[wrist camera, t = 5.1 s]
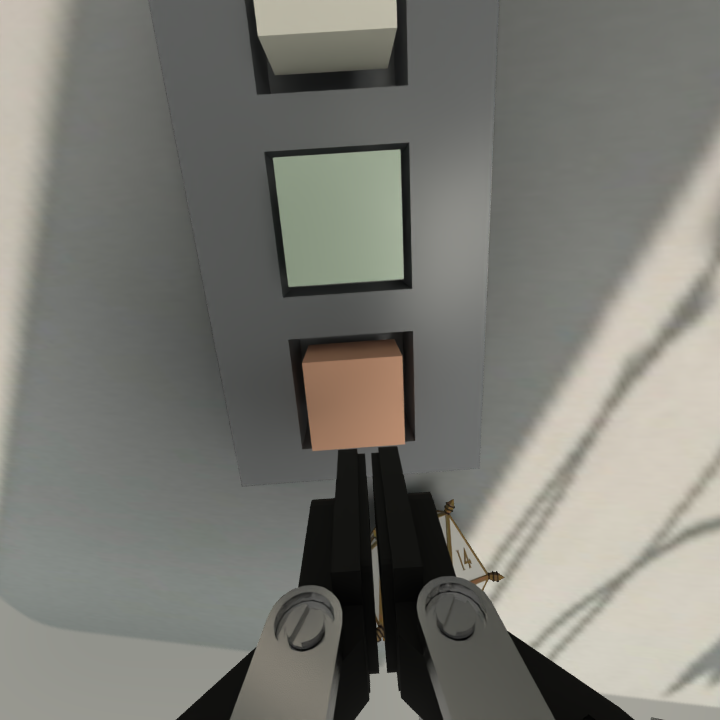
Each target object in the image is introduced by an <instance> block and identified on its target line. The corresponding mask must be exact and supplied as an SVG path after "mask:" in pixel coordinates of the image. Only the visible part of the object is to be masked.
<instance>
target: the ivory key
mask: <svg viewBox="0 0 720 720" xmlns="http://www.w3.org/2000/svg"><path fill="white" fill-rule="evenodd" d="M254 8H255V16H256V25H257V33H258V37H259V40H260V42H261V44H262V47H263V49H264V51H265V53H266V56H267V58H268V60H269V63H270V65H271V67H272V69H273V72H274V74H275V75H289V74H306V73H322V72H338V71H354V70H370V69H386V68H388V64H389V60H390V56H391V52H392V47H393V43H394V39H395V35H396V30H397V3H396V0H254Z"/></svg>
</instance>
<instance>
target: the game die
mask: <svg viewBox="0 0 720 720" xmlns="http://www.w3.org/2000/svg"><path fill="white" fill-rule="evenodd" d="M444 507H445V510H444V511H440V510H436V511H437V514H438V518H439V521H440V524H441V528H442V531H443V534H444V538H445V541H446V544H447V548H448V551H449V554H450V557H451V561H452V564H453V567H454V571H455V574H456V577H459V578H464V579H466V580H468V581H470V582H472V583H474V584H475V585H477V586H478V587H479V588H480V589H481V590H484V587H485V585H486V583H487V581H488V579H490V580H492V581H493V582H494V581H497V582H499V580H501V579H503V578H505V577H503V576H502V575H500V574H499V573H498V572H497V571H496V572H493V571H492V572H491V573H488V572H487V571H486V570H485V568H484V566H483V565H482V563H481V562H480V560H479V559H478V557H477V556H476V554H475V553H474V551H473V550H472V548H471V546H470V545H469V543H468V542H467V540H466V539H465V537H464V536H463V534H462V533H461V531H460V529H459V528H458V526H457V525H456V523H455V522H454V520H453V519H452V517H451V516H450V513H451V512H453V508H455V506H454V499H453V500H451V501H449V502H446V506H444ZM371 549H372V565H373V582H374V598H375V614H376V622H377V624H378V627H377V628H376V630H377V642H379V641H381V637H383V641H384V640H385V638H384V626H383V614H382V601H381V589H380V576H379V564H378V551H377V539H376V527H375V528H374V530H373V531H372V533H371Z"/></svg>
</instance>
